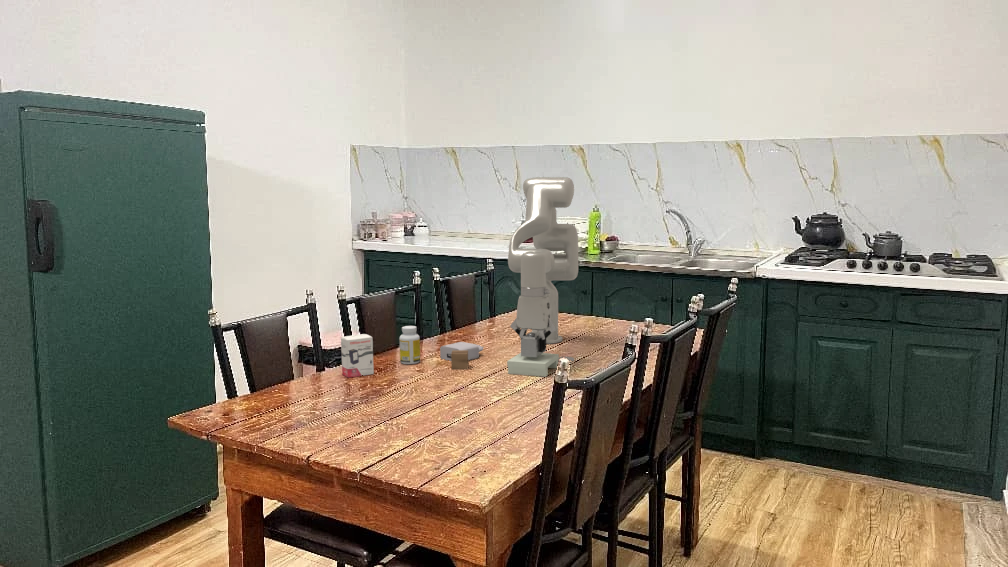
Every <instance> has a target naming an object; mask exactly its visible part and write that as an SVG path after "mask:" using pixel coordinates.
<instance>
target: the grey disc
mask: <svg viewBox="0 0 1008 567" xmlns="http://www.w3.org/2000/svg"><path fill="white" fill-rule="evenodd" d="M563 357H565V358H567V359H568V360H569V361H570V360H571V361H573V362H575V358H574V357H573V356H560V357H559V359H560V358H563ZM559 359H558V360H559Z"/></svg>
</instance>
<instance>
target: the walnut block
mask: <svg viewBox="0 0 1008 567" xmlns="http://www.w3.org/2000/svg"><path fill="white" fill-rule="evenodd" d="M450 362H451V370H452V371H454V370H455V371H456V370H468V369H469V360H468V350H457V351H452V353H451V361H450Z"/></svg>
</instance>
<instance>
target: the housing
mask: <svg viewBox="0 0 1008 567" xmlns="http://www.w3.org/2000/svg"><path fill="white" fill-rule="evenodd" d="M540 339H541V335H540V332H532V331H530V332H528V333H526V335H525V336H523V338H522V339H521V338H520V353H521V356H526V357H538V356H539V355H541V354H542V353H546V352H547V348H546V349H545V351H543V352H540Z"/></svg>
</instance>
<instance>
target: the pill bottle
mask: <svg viewBox="0 0 1008 567" xmlns="http://www.w3.org/2000/svg"><path fill="white" fill-rule="evenodd" d="M401 331H402V334H401V335H400V336H399V338H398V340H399V361H400V363H401V364H404V365H415V364H419V363H420V362H421V339H420V337H421V336H420V335H419V334H418V333H417V326H415V325H405V326H402V327H401Z"/></svg>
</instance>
